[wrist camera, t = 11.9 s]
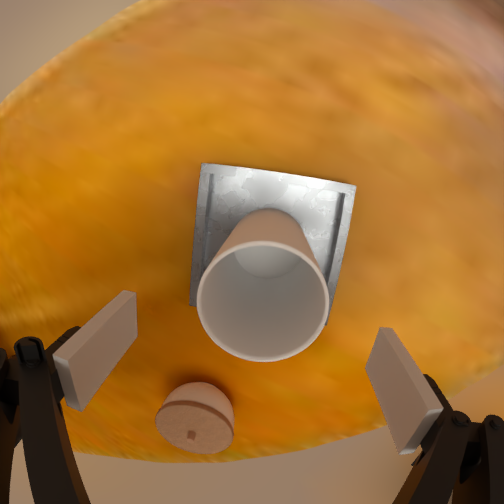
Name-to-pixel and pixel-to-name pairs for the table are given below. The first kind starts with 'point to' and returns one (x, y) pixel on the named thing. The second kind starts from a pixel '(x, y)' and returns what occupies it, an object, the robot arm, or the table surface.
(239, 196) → the square metal tray
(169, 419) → the lidded jar
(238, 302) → the cup
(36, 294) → the table surface
